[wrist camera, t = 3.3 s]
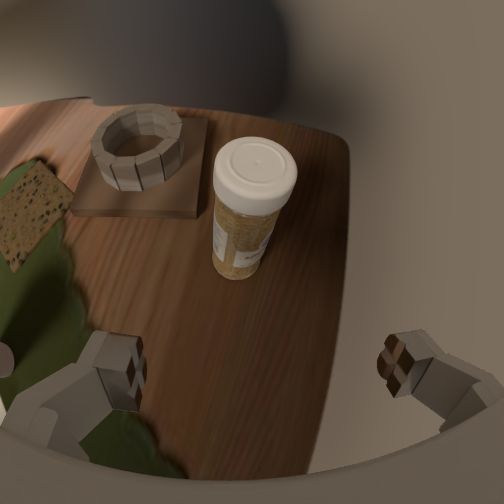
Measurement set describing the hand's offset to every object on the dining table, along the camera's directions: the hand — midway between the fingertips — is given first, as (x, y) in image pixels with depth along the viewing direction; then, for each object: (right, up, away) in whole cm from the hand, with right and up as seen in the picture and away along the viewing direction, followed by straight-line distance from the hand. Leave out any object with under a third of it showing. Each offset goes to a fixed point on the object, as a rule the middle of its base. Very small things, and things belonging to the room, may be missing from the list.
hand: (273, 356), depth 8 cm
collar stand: (-13, +13, +21) cm, 28 cm away
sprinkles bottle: (-2, +3, +18) cm, 19 cm away
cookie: (-28, +8, +17) cm, 34 cm away
